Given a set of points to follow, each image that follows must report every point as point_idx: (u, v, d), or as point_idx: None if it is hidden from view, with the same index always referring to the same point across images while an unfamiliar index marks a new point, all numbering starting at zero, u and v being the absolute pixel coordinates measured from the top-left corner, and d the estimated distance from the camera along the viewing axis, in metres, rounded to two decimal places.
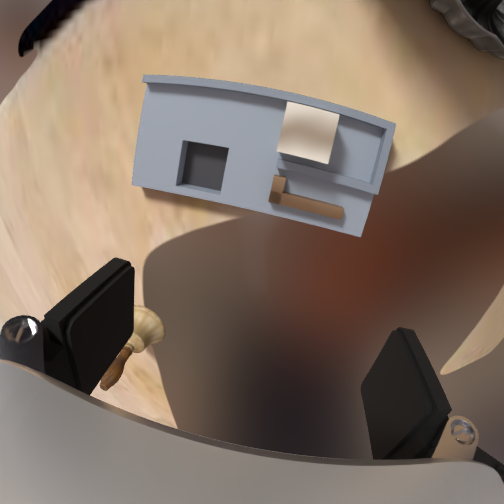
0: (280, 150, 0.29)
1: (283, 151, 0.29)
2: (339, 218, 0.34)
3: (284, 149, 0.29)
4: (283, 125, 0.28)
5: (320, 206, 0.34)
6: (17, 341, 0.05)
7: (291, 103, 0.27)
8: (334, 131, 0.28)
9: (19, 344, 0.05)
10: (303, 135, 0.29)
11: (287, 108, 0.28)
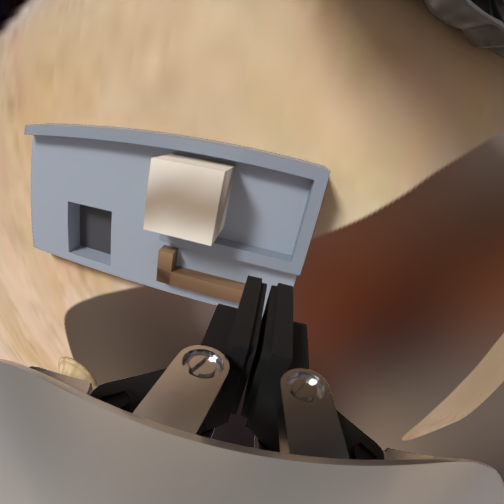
0: (147, 228, 0.22)
1: (151, 229, 0.22)
2: None
3: (152, 227, 0.22)
4: (148, 193, 0.21)
5: (220, 289, 0.26)
6: (192, 372, 0.06)
7: (156, 160, 0.20)
8: (217, 198, 0.20)
9: (192, 376, 0.06)
10: (174, 207, 0.21)
11: (151, 168, 0.20)
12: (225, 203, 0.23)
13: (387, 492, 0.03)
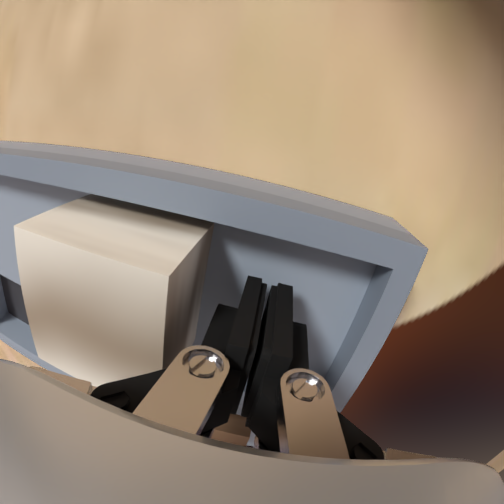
0: (44, 358, 0.09)
1: (50, 361, 0.09)
2: None
3: (50, 359, 0.09)
4: (25, 299, 0.08)
5: None
6: (192, 372, 0.06)
7: (21, 233, 0.07)
8: (158, 338, 0.07)
9: (192, 376, 0.06)
10: (74, 336, 0.08)
11: (18, 249, 0.07)
12: (191, 312, 0.10)
13: (387, 492, 0.03)
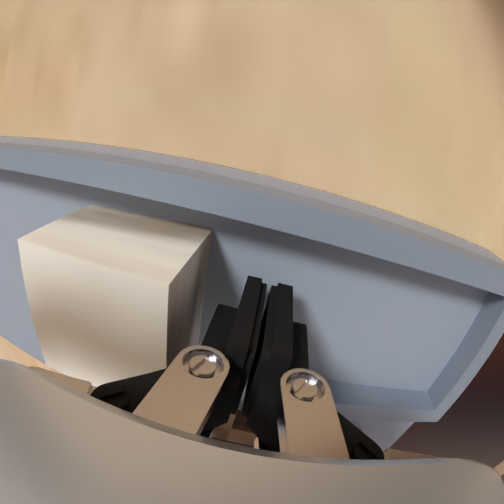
0: (51, 365, 0.09)
1: (57, 369, 0.09)
2: None
3: (58, 366, 0.09)
4: (32, 309, 0.08)
5: None
6: (192, 372, 0.06)
7: (25, 246, 0.07)
8: (161, 343, 0.08)
9: (192, 376, 0.06)
10: (81, 344, 0.08)
11: (23, 262, 0.07)
12: (193, 316, 0.11)
13: (387, 492, 0.03)
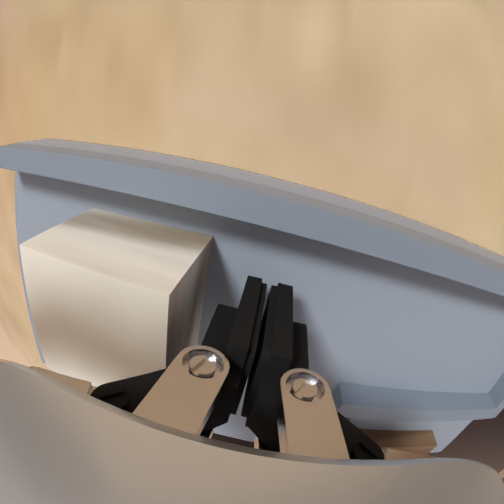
0: (52, 367, 0.09)
1: (58, 371, 0.09)
2: None
3: (58, 369, 0.09)
4: (33, 313, 0.08)
5: (400, 450, 0.13)
6: (192, 372, 0.06)
7: (27, 251, 0.07)
8: (161, 350, 0.08)
9: (192, 376, 0.06)
10: (81, 348, 0.08)
11: (24, 267, 0.07)
12: (192, 322, 0.11)
13: (387, 492, 0.03)
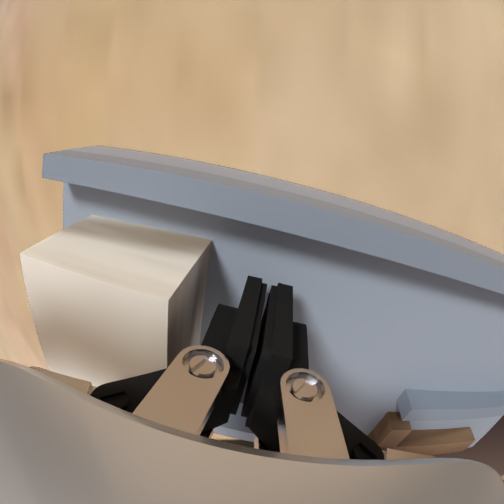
0: None
1: None
2: (462, 450, 0.13)
3: None
4: (35, 320, 0.08)
5: (445, 446, 0.13)
6: (192, 372, 0.06)
7: (28, 260, 0.07)
8: (162, 355, 0.08)
9: (192, 376, 0.06)
10: (84, 354, 0.08)
11: (25, 275, 0.08)
12: (193, 326, 0.11)
13: (387, 492, 0.03)
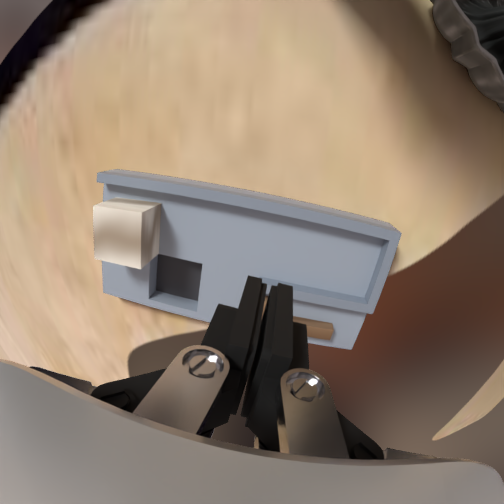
0: (97, 257, 0.27)
1: (100, 258, 0.27)
2: (328, 339, 0.31)
3: (100, 257, 0.27)
4: (94, 232, 0.26)
5: (307, 328, 0.30)
6: (192, 372, 0.06)
7: (96, 207, 0.25)
8: (139, 233, 0.26)
9: (192, 376, 0.06)
10: (112, 241, 0.26)
11: (94, 213, 0.25)
12: (153, 234, 0.29)
13: (387, 492, 0.03)
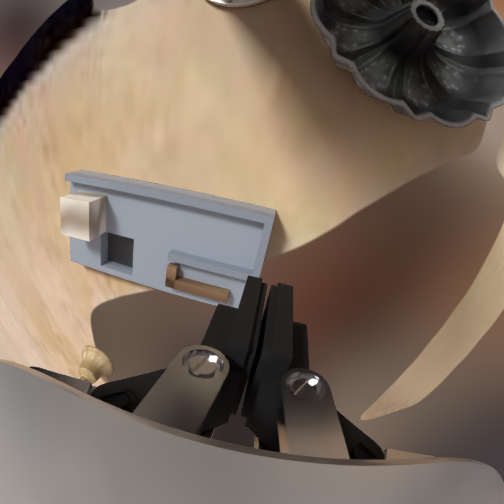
0: (63, 233, 0.36)
1: (64, 234, 0.36)
2: (224, 301, 0.40)
3: (65, 233, 0.36)
4: (61, 215, 0.35)
5: (207, 291, 0.40)
6: (192, 372, 0.06)
7: (62, 198, 0.34)
8: (88, 216, 0.35)
9: (192, 376, 0.06)
10: (72, 221, 0.36)
11: (61, 202, 0.35)
12: (100, 217, 0.38)
13: (387, 492, 0.03)
